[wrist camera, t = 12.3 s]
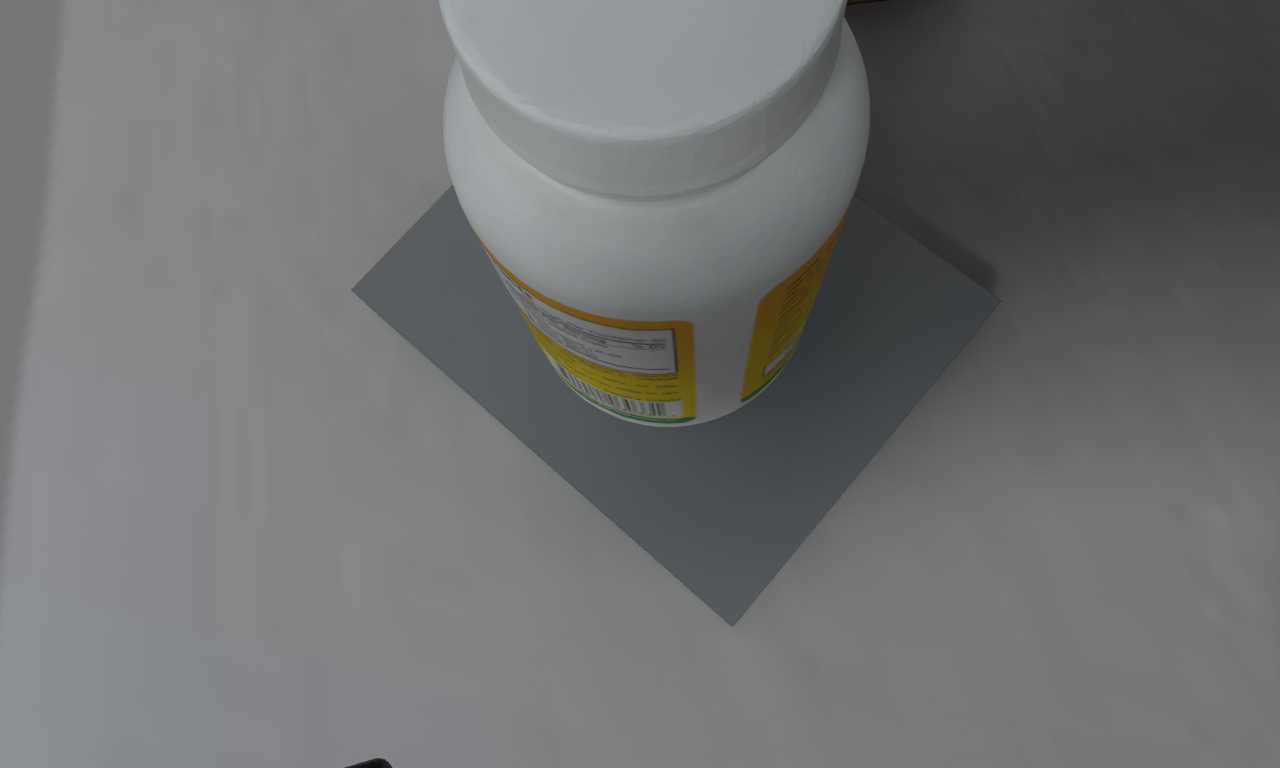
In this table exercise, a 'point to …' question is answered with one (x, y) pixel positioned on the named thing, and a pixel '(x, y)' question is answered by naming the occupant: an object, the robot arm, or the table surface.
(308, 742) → the table surface
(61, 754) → the table surface
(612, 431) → the mat
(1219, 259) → the table surface
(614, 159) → the supplement bottle
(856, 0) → the collar
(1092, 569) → the table surface
